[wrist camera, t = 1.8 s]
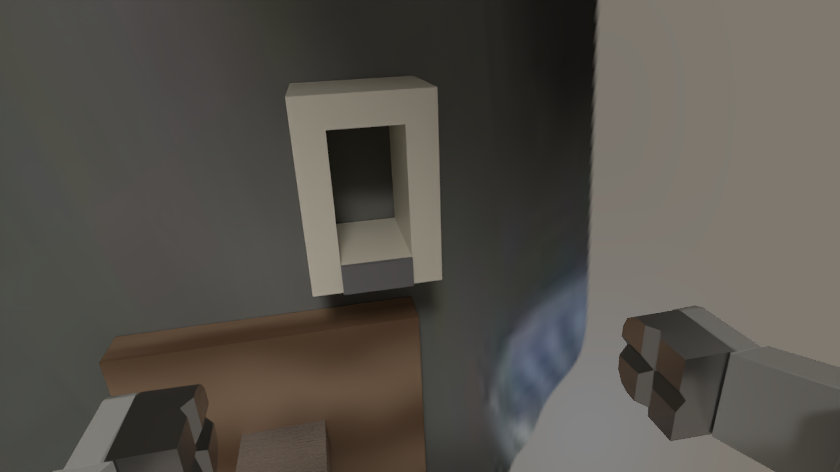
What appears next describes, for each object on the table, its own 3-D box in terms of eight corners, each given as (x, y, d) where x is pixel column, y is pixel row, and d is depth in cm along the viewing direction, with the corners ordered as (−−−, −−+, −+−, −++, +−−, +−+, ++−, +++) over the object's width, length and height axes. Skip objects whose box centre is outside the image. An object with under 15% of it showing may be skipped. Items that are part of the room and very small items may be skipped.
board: (115, 336, 23) (99, 363, 22) (411, 296, 26) (418, 317, 24) (174, 517, 28) (165, 551, 26) (420, 469, 30) (427, 497, 29)
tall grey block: (241, 434, 24) (230, 505, 21) (324, 420, 25) (327, 486, 22) (247, 459, 25) (237, 532, 22) (328, 444, 26) (331, 512, 22)
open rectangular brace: (289, 83, 21) (284, 97, 17) (413, 75, 22) (438, 87, 17) (312, 250, 24) (313, 299, 20) (420, 237, 25) (443, 281, 20)
